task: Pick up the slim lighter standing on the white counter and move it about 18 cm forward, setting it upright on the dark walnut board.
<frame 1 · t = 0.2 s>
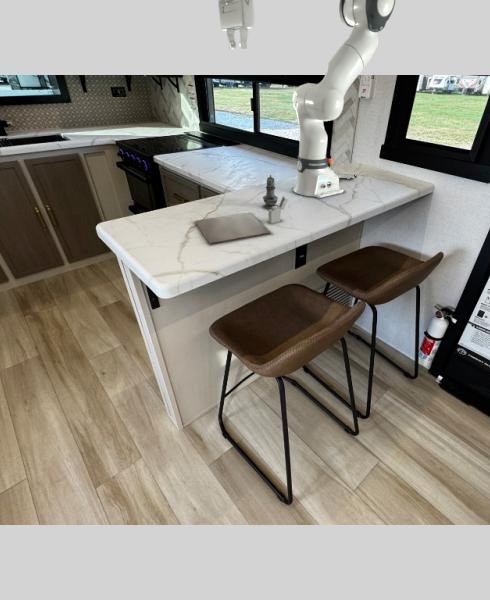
hand: (237, 48, 98), 48 cm above the countertop, tool pointing down, fingers open, 8 cm apart
tarnished pewter finial: (270, 207, 122), on the countertop
lighter: (277, 221, 112), on the countertop
walnut board: (232, 228, 105), on the countertop
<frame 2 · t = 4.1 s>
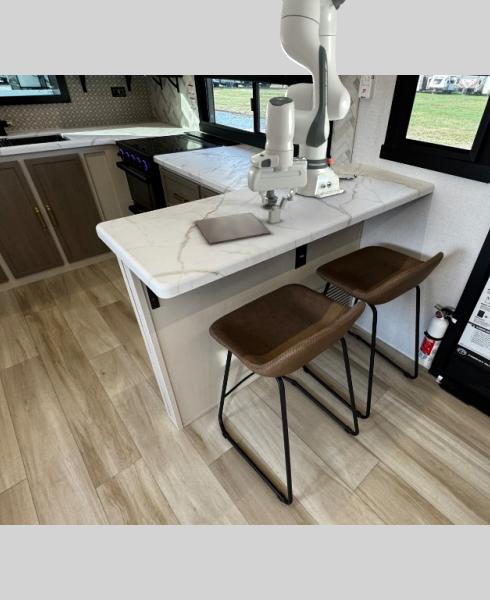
hand: (277, 202, 107), 7 cm above the countertop, tool pointing down, fingers open, 8 cm apart
lighter: (277, 221, 112), on the countertop, touching gripper
everything else where it was.
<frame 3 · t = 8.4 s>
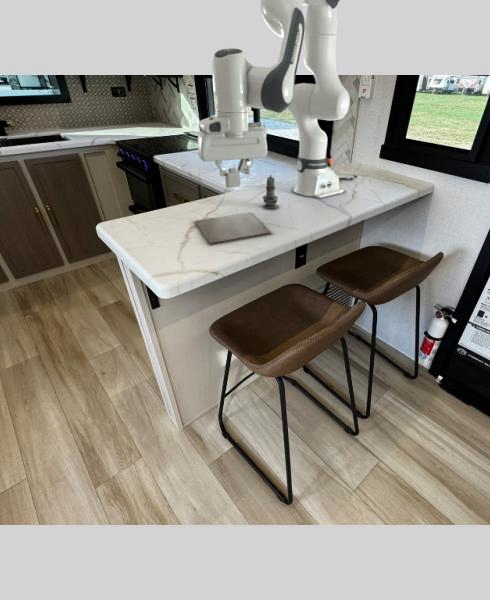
hand: (235, 174, 96), 17 cm above the countertop, tool pointing down, fingers closed on lighter, 6 cm apart
lighter: (237, 186, 98), point 14 cm above the countertop, touching gripper
everything else where it was.
when the fingers open (4 cm above the countertop, at t = 12.0 s): lighter stays where it is, resting on walnut board.
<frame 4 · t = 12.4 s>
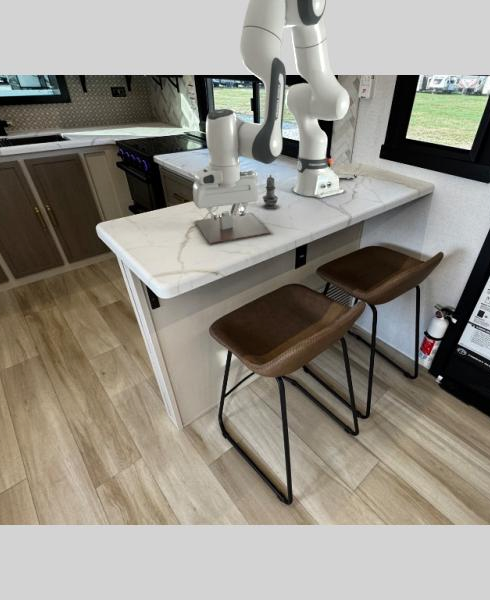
hand: (228, 217, 102), 4 cm above the countertop, tool pointing down, fingers open, 8 cm apart
lighter: (230, 227, 105), resting on walnut board
everything else where it was.
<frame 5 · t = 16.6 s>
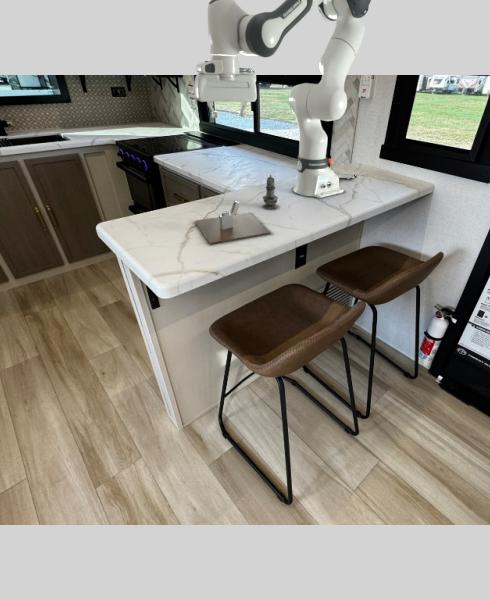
hand: (228, 117, 108), 29 cm above the countertop, tool pointing down, fingers open, 8 cm apart
nothing on the countertop moved.
at the end: lighter inside the target area on the walnut board (0.1 cm from its centre), point 0.4 cm above the walnut board's base; lighter moved 17.4 cm from its start; lighter tilted 0° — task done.
